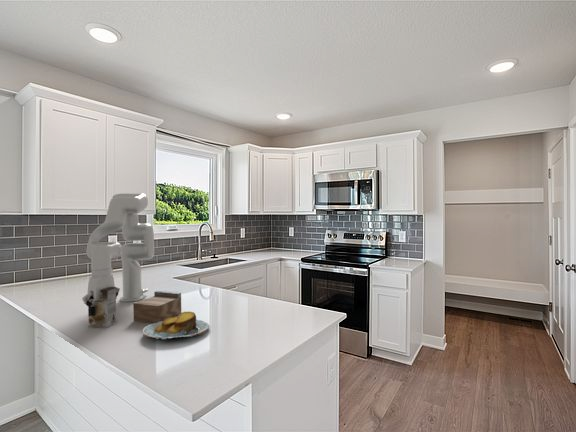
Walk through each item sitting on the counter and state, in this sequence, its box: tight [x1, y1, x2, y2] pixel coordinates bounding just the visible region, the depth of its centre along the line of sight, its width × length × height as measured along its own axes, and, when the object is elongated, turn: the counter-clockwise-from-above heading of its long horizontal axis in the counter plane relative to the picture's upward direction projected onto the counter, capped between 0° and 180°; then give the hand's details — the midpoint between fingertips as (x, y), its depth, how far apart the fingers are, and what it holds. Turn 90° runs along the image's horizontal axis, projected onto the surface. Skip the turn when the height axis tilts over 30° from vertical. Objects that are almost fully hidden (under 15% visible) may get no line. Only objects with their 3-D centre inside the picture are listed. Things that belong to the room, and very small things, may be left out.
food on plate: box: [141, 311, 210, 340], centre depth 126 cm, size 25×25×7 cm
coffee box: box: [87, 286, 117, 328], centre depth 135 cm, size 9×6×16 cm
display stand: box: [132, 290, 182, 324], centre depth 144 cm, size 15×14×10 cm
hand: (102, 312), depth 135 cm, fingers open, 9 cm apart
